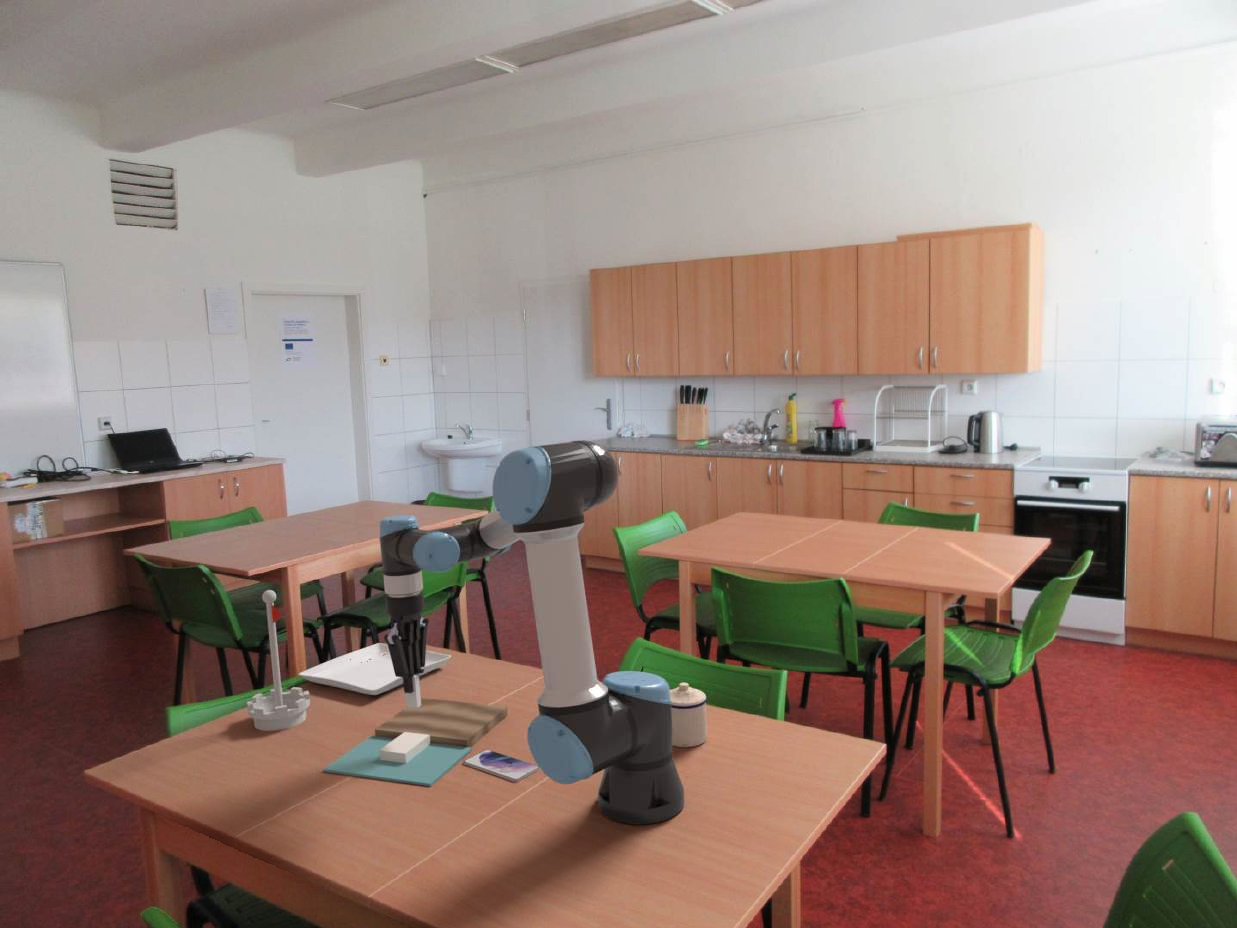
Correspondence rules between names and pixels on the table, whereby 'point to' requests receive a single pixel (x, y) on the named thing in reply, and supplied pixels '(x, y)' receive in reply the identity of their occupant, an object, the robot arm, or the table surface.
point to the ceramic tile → (405, 747)
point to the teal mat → (416, 771)
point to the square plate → (366, 670)
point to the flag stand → (277, 687)
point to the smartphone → (501, 765)
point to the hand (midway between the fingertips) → (413, 705)
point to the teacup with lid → (688, 716)
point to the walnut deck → (445, 721)
